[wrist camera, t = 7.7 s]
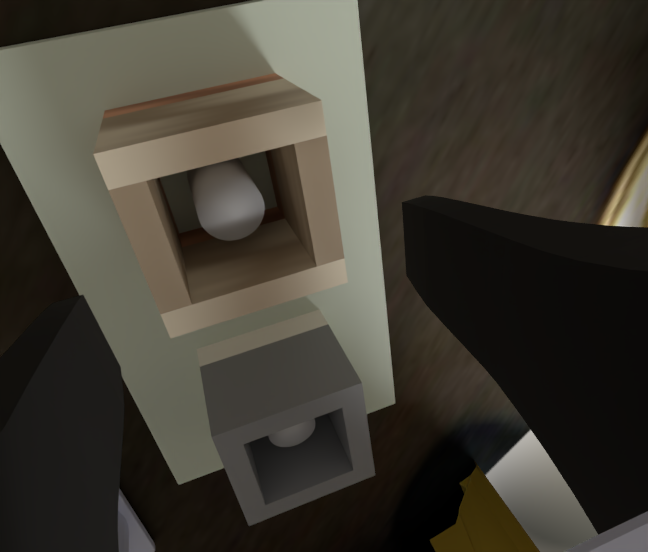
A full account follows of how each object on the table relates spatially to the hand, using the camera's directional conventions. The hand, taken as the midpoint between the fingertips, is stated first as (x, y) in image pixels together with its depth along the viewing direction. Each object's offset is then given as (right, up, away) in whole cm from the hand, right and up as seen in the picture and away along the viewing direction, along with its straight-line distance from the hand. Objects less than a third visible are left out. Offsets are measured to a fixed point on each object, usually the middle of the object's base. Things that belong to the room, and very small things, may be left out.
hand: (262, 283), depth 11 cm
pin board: (-2, 0, +10) cm, 11 cm away
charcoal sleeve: (-1, -4, +12) cm, 13 cm away
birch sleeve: (-2, +4, +6) cm, 8 cm away
